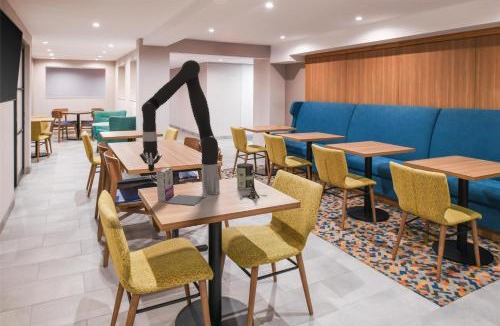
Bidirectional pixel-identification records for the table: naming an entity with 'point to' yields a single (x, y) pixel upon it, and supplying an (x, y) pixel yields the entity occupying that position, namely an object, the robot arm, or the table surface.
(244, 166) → the coffee can
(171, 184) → the candy bar box
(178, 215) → the table surface
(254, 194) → the eiffel tower figurine
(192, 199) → the place mat
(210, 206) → the table surface
